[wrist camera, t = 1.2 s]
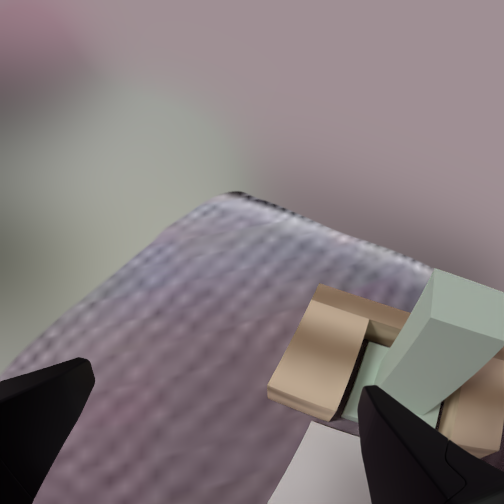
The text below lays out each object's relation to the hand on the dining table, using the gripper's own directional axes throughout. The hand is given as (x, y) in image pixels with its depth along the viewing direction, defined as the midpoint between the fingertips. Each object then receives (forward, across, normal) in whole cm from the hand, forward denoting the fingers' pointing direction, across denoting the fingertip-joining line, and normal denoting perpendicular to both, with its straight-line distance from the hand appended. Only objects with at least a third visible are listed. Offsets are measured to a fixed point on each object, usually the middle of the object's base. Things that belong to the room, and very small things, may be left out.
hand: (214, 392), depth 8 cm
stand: (+12, -12, +10) cm, 20 cm away
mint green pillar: (+12, -12, +10) cm, 20 cm away
